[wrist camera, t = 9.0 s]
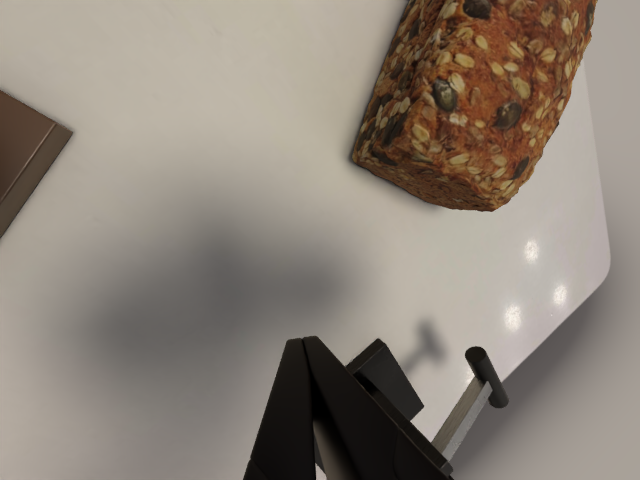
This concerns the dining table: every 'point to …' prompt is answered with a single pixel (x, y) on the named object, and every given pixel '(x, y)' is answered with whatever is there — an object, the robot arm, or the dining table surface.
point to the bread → (472, 96)
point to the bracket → (391, 398)
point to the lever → (471, 402)
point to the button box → (24, 153)
